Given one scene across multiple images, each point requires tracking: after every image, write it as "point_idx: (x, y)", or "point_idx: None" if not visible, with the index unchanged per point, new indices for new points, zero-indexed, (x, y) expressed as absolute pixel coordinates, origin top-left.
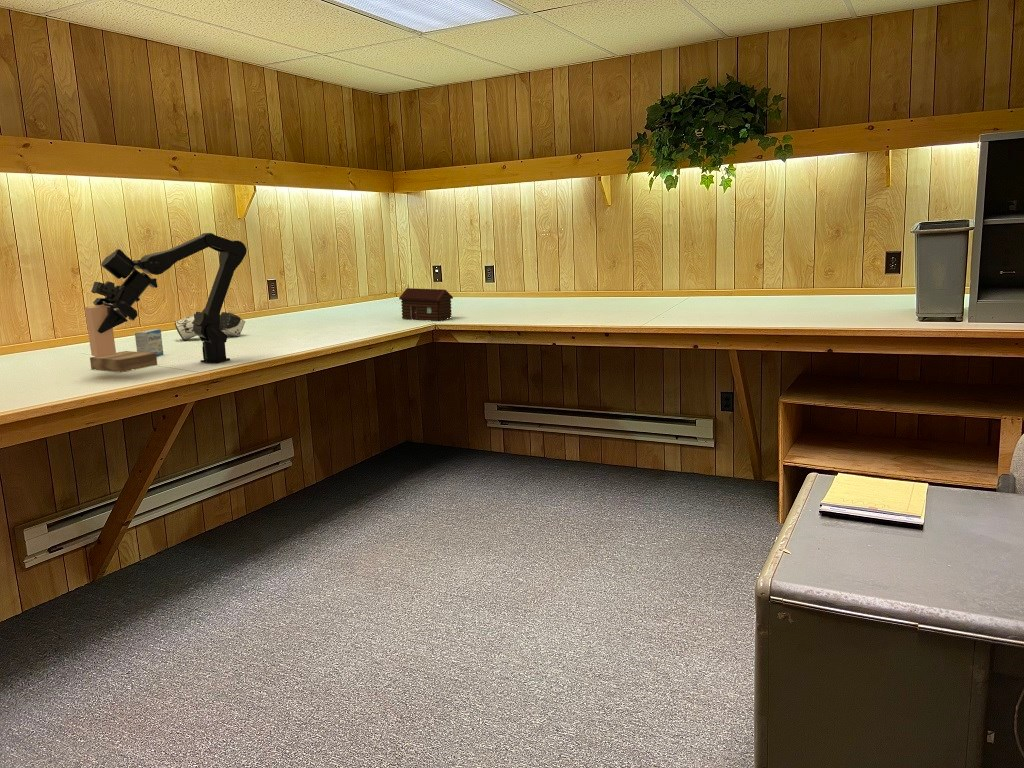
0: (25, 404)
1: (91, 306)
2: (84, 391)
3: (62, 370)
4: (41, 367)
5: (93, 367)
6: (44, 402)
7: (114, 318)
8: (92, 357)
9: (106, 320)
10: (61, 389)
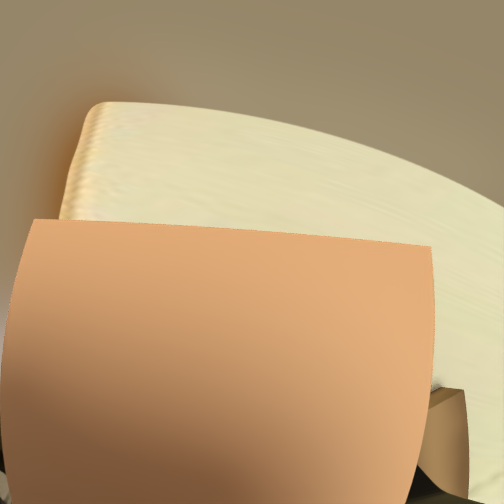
0: (115, 119)
1: (340, 403)
2: (104, 219)
3: (481, 314)
4: None
5: (435, 392)
6: (97, 141)
7: None
8: (458, 397)
9: None
10: (176, 193)
